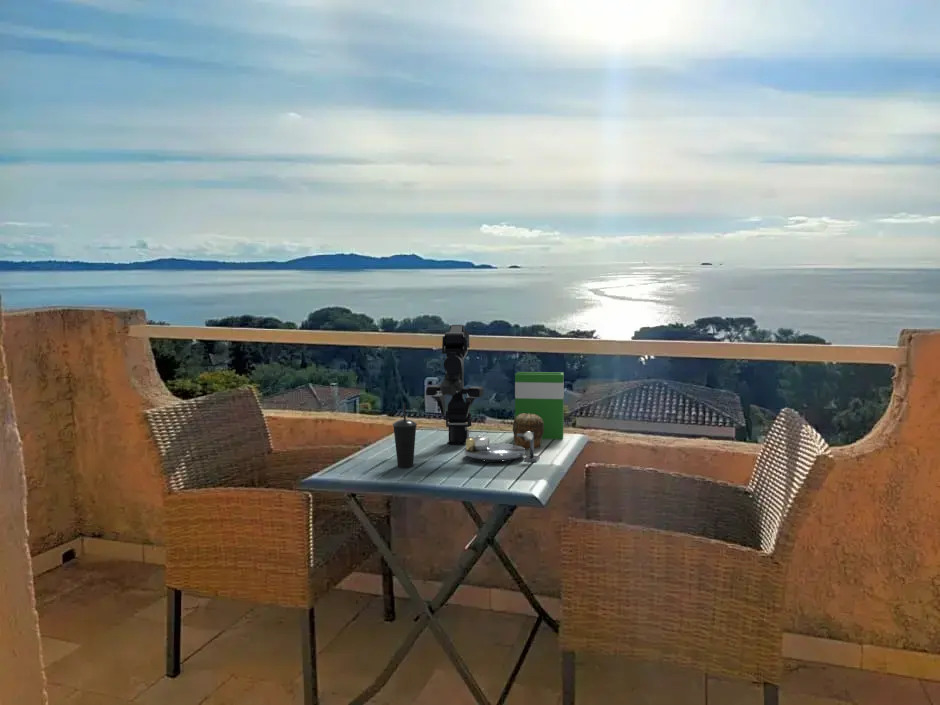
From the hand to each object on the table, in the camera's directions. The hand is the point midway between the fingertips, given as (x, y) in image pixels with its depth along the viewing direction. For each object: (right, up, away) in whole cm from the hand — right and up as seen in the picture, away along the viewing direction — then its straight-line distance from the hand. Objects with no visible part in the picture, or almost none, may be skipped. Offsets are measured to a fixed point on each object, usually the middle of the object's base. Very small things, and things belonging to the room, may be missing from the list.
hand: (454, 416), depth 247 cm
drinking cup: (-15, -15, -14) cm, 25 cm away
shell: (+26, -12, +13) cm, 31 cm away
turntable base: (+13, -13, -3) cm, 19 cm away
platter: (+13, -12, -3) cm, 18 cm away
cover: (+8, -11, -2) cm, 13 cm away
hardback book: (+31, -10, +31) cm, 45 cm away
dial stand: (+24, -13, -6) cm, 28 cm away
